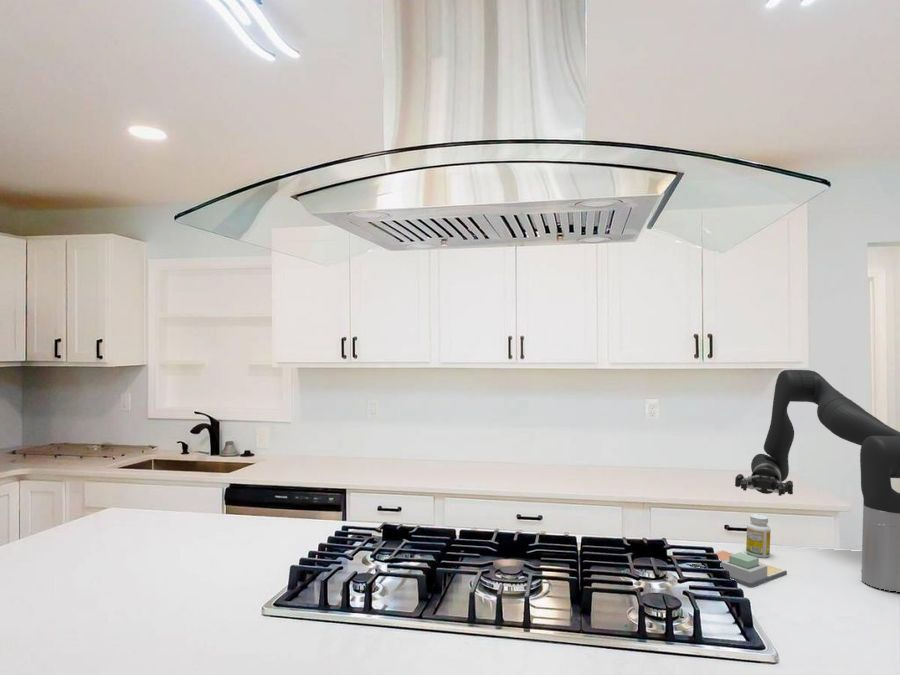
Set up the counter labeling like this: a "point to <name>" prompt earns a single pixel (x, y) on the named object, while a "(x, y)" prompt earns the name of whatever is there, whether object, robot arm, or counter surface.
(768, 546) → the supplement bottle
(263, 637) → the counter surface
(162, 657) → the counter surface
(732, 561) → the button
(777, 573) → the grey tray
